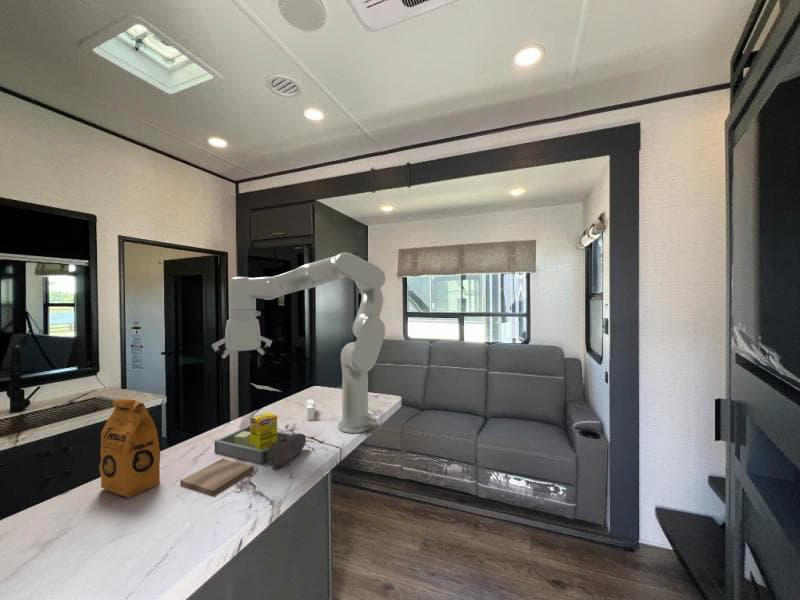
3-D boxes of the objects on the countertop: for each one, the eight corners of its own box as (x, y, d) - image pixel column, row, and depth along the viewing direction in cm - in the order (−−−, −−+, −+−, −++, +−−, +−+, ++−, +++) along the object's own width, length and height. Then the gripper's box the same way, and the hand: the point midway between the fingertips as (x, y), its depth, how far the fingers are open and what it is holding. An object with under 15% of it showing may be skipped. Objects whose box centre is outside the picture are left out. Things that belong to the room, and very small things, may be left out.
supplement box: (259, 457, 93) (259, 421, 93) (249, 451, 97) (249, 416, 97) (277, 449, 98) (277, 415, 98) (267, 444, 102) (267, 411, 102)
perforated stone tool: (299, 447, 100) (299, 425, 100) (312, 450, 98) (312, 428, 98) (261, 470, 86) (261, 445, 86) (276, 474, 84) (276, 448, 84)
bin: (294, 445, 101) (294, 434, 101) (263, 464, 89) (263, 452, 89) (248, 435, 109) (248, 425, 109) (214, 452, 97) (214, 441, 97)
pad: (253, 470, 86) (253, 466, 86) (213, 495, 75) (213, 490, 75) (222, 462, 90) (222, 458, 90) (180, 485, 79) (180, 480, 79)
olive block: (253, 444, 102) (253, 432, 102) (244, 449, 98) (244, 437, 98) (242, 443, 103) (242, 431, 103) (234, 448, 99) (234, 436, 99)
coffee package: (119, 505, 71) (119, 409, 72) (94, 491, 77) (94, 402, 77) (167, 482, 80) (167, 397, 81) (141, 471, 86) (141, 392, 86)
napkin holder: (306, 409, 136) (306, 396, 137) (329, 411, 134) (329, 398, 134) (285, 422, 122) (285, 407, 122) (311, 425, 119) (311, 410, 119)
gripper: (269, 314, 108) (269, 363, 108) (211, 315, 98) (211, 369, 98) (273, 314, 101) (274, 366, 101) (212, 316, 92) (212, 374, 92)
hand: (243, 368), depth 100 cm, fingers open, 9 cm apart
